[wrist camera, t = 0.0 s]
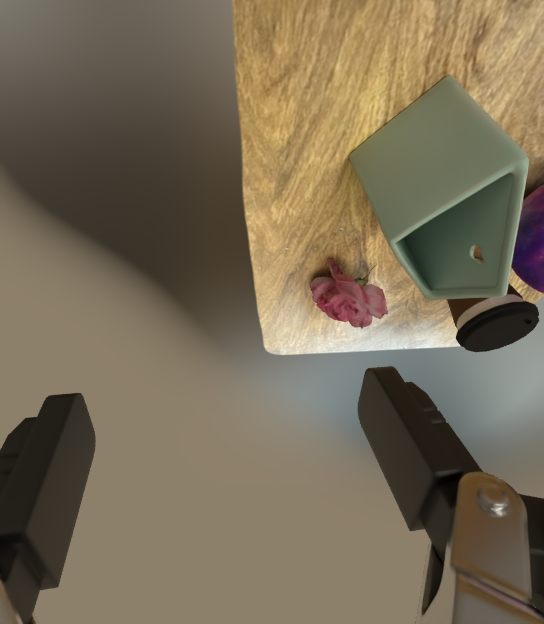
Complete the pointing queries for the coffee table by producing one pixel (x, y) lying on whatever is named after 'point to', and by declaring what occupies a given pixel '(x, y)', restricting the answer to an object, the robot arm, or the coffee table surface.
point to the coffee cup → (492, 320)
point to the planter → (446, 193)
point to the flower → (348, 297)
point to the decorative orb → (531, 241)
